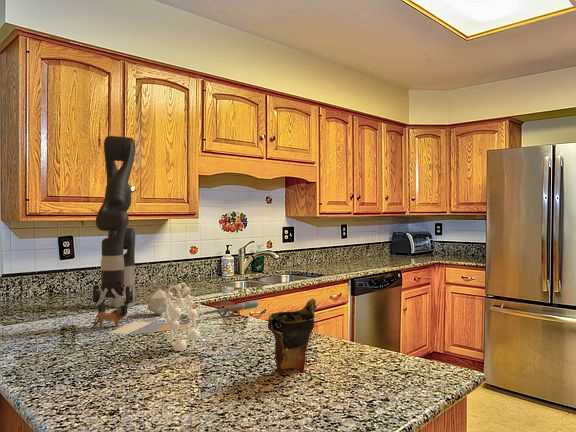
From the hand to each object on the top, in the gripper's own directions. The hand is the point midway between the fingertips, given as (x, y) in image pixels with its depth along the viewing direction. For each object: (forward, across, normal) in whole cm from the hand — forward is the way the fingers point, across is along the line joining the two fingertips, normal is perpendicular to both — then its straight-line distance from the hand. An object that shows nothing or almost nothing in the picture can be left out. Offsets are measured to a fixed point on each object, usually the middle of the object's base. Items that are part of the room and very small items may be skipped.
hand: (112, 315), depth 161 cm
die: (+4, +6, +21) cm, 22 cm away
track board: (+4, +10, 0) cm, 11 cm away
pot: (+4, +71, -34) cm, 78 cm away
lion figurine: (+4, -1, -1) cm, 4 cm away
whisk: (+5, +31, +21) cm, 38 cm away
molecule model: (+4, +36, -20) cm, 42 cm away
